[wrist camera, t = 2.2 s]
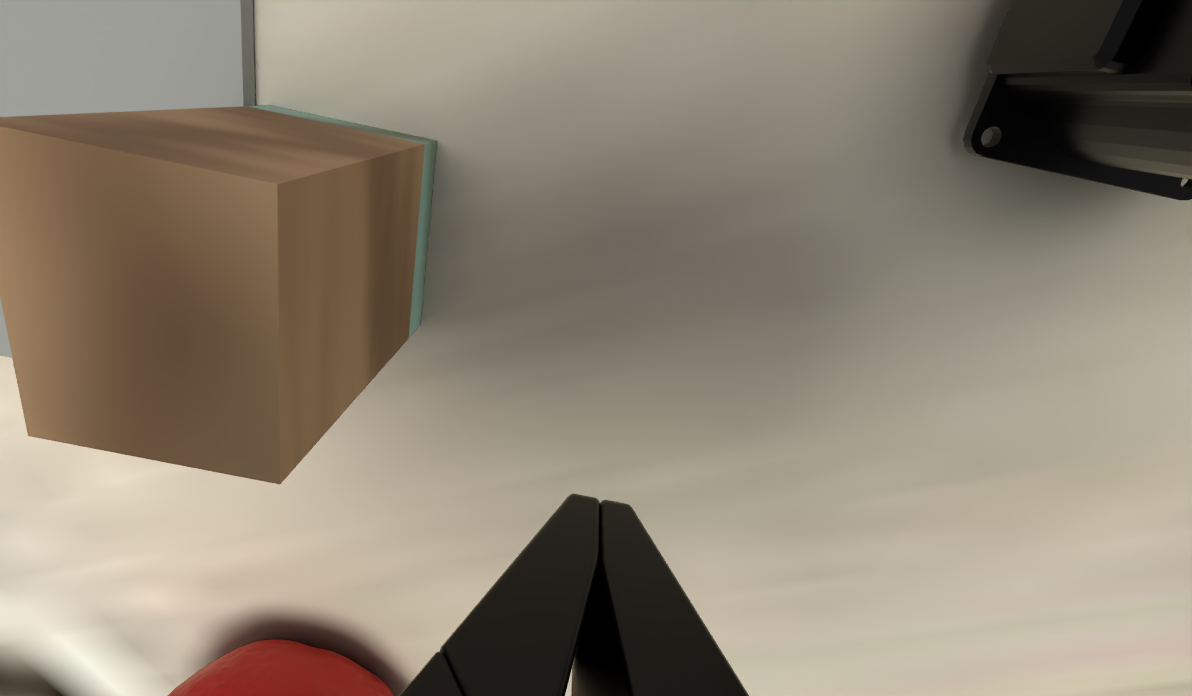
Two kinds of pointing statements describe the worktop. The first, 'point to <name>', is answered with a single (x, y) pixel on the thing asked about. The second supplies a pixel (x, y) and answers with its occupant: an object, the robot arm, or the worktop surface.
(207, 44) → the mat
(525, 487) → the worktop surface
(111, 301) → the walnut block
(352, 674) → the tomato
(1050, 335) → the worktop surface
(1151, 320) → the worktop surface
